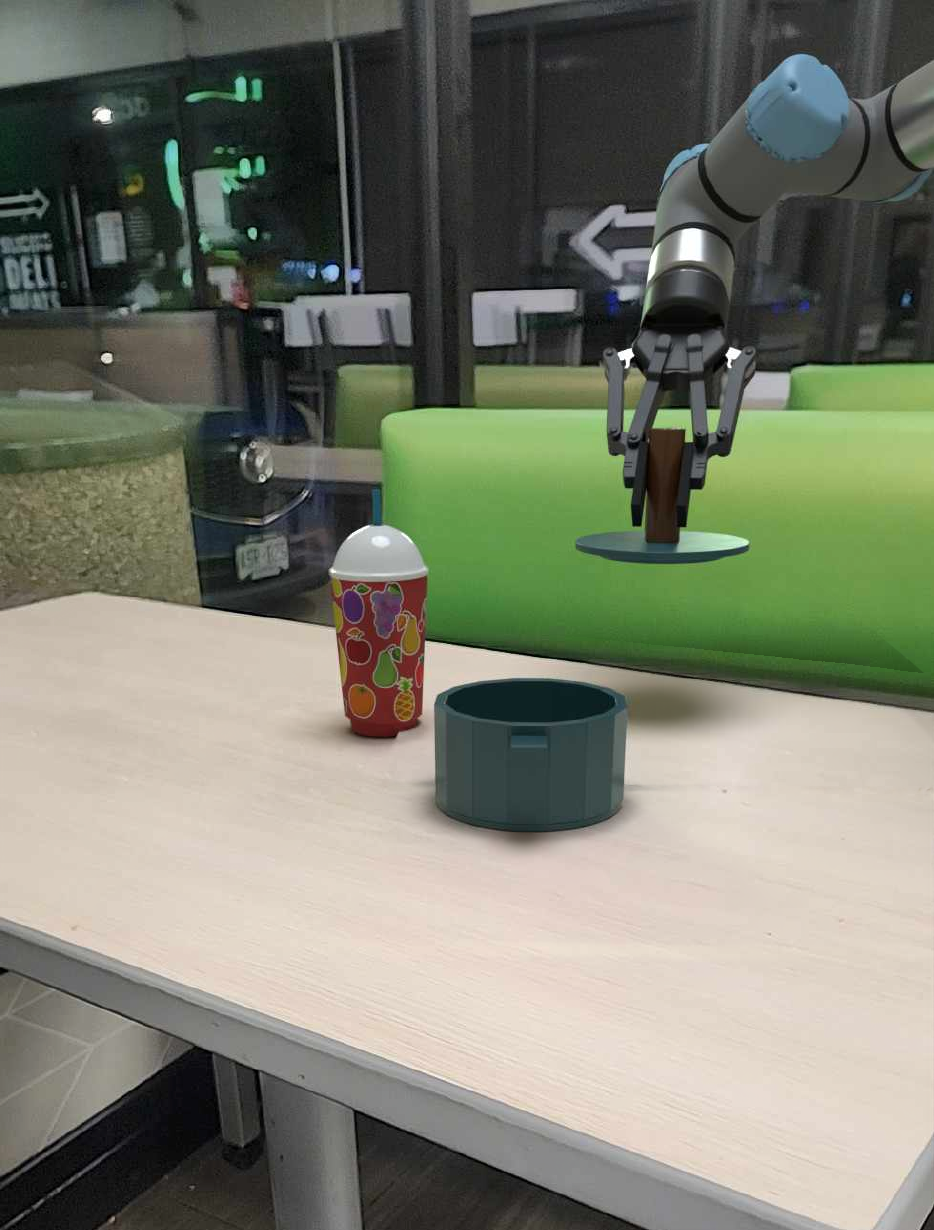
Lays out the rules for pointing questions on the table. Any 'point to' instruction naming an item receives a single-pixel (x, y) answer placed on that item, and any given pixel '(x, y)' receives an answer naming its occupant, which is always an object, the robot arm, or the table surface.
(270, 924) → the table surface
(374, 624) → the smoothie
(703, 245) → the robot arm
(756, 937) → the table surface
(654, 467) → the lid
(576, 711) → the tin
